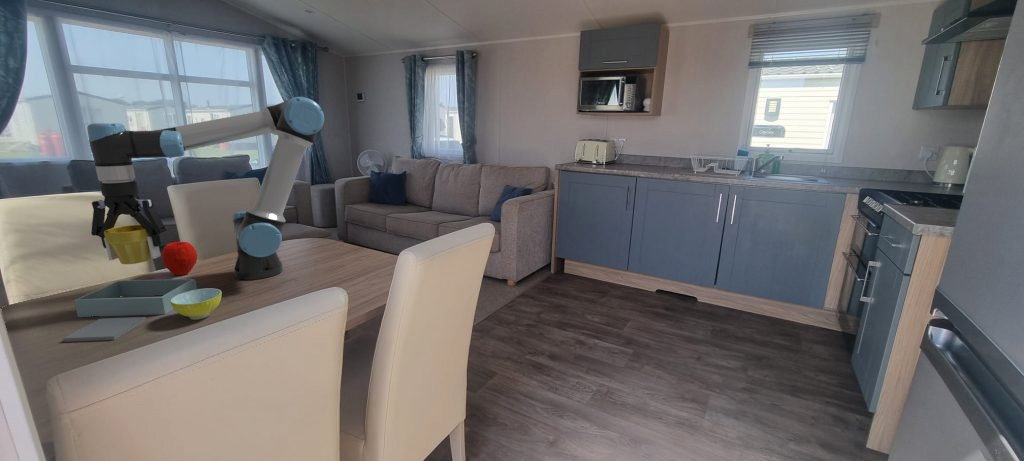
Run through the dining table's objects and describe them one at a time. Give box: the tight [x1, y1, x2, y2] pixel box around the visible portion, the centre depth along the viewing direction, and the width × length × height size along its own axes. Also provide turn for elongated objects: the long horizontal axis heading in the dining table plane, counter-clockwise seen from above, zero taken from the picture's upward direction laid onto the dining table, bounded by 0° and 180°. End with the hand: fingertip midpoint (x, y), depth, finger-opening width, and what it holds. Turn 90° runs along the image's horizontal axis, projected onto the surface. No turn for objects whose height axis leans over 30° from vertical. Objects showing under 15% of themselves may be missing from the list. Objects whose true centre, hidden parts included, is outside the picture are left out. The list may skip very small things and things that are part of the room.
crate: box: [73, 278, 198, 318], centre depth 123 cm, size 22×15×5 cm
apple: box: [161, 240, 198, 276], centre depth 148 cm, size 10×10×12 cm
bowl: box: [171, 287, 223, 321], centre depth 116 cm, size 11×12×6 cm
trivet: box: [62, 316, 147, 343], centre depth 107 cm, size 11×11×1 cm
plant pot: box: [104, 223, 152, 265], centre depth 119 cm, size 10×10×10 cm
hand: (135, 258), depth 120 cm, fingers closed on plant pot, 10 cm apart
